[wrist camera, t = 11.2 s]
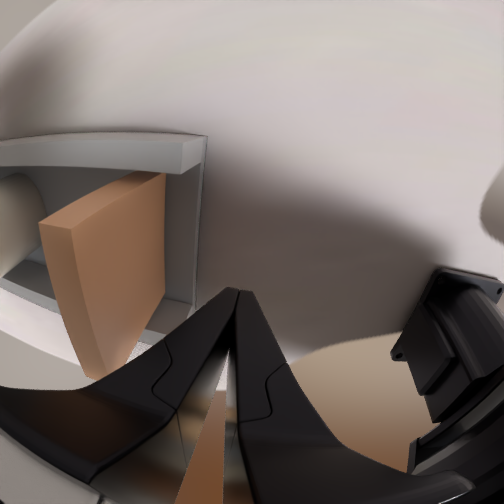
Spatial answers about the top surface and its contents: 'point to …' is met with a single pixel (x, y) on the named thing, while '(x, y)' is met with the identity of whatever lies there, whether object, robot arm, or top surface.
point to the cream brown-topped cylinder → (19, 220)
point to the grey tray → (98, 175)
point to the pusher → (108, 267)
